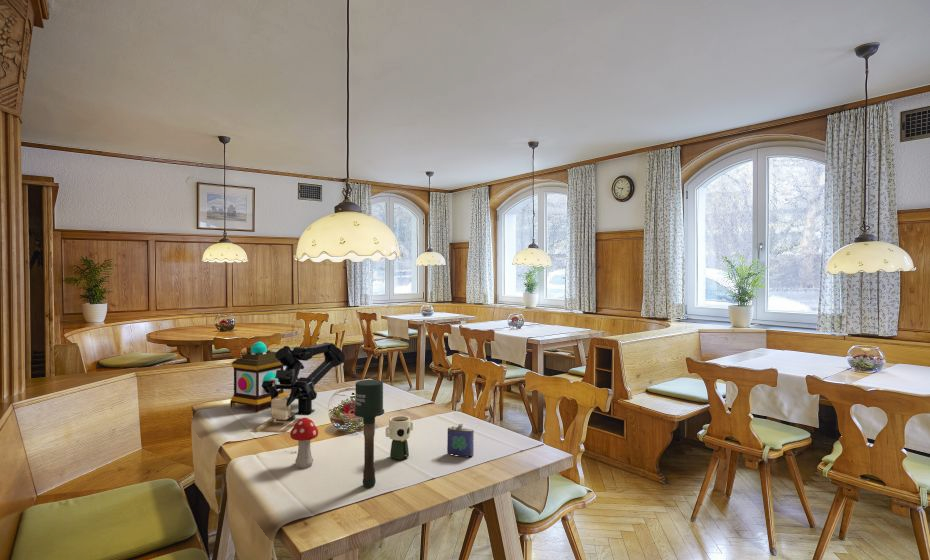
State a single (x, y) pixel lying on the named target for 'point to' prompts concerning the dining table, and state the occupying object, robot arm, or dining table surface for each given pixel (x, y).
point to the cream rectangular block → (280, 408)
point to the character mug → (399, 435)
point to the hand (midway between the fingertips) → (279, 405)
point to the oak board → (277, 425)
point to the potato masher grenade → (369, 421)
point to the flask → (460, 441)
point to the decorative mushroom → (304, 441)
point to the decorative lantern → (255, 376)
